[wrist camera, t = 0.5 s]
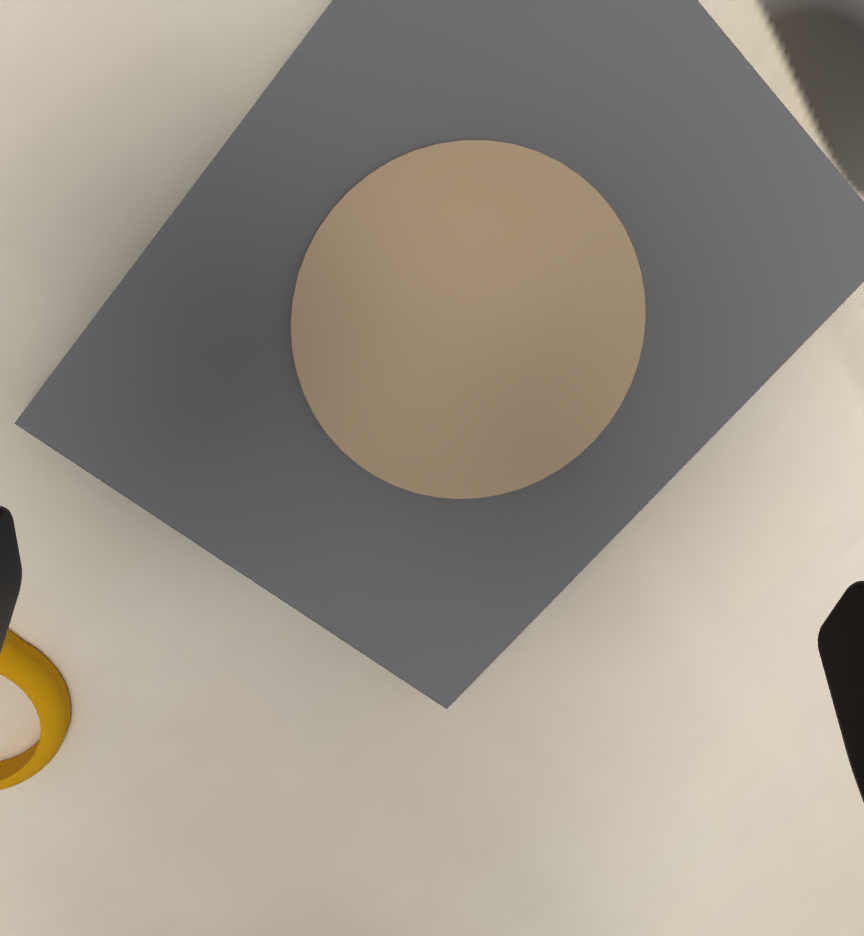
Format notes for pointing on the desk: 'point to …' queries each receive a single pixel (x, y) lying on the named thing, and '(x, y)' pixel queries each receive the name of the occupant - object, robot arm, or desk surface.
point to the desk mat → (458, 311)
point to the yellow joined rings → (48, 699)
